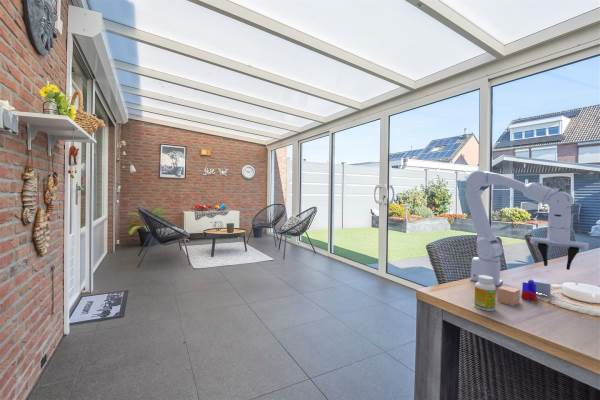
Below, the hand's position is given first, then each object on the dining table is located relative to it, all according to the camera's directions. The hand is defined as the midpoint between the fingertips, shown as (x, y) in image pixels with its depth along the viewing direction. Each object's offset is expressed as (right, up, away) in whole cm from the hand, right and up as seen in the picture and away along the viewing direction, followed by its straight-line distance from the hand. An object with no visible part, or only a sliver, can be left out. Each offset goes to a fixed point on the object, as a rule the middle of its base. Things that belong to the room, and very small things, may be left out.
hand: (556, 267), depth 97 cm
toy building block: (-10, -11, -1) cm, 15 cm away
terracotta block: (-19, -11, -4) cm, 22 cm away
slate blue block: (-2, -10, +4) cm, 11 cm away
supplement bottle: (-30, -11, -8) cm, 33 cm away
